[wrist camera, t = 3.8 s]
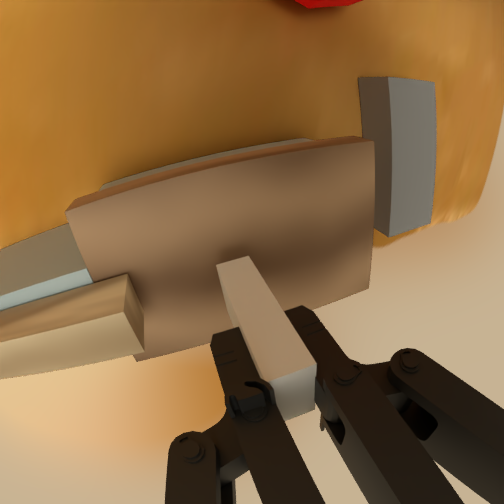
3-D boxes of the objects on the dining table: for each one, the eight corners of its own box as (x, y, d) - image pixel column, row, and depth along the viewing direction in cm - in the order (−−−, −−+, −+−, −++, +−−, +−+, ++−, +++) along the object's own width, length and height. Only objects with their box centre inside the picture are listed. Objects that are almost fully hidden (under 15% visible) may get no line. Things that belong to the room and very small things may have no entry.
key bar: (-34, 321, 11) (-51, 353, 9) (127, 273, 13) (123, 311, 11) (-15, 349, 12) (-28, 382, 10) (143, 311, 15) (144, 351, 12)
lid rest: (357, 77, 21) (387, 76, 18) (404, 80, 22) (434, 82, 19) (363, 220, 28) (388, 237, 25) (405, 209, 29) (430, 223, 26)
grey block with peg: (0, 249, 18) (-72, 356, 7) (110, 208, 20) (68, 323, 9) (19, 287, 20) (-32, 403, 9) (126, 254, 22) (112, 387, 11)
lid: (75, 199, 13) (64, 212, 11) (353, 135, 16) (374, 140, 14) (136, 340, 18) (136, 361, 16) (353, 273, 21) (368, 288, 19)
